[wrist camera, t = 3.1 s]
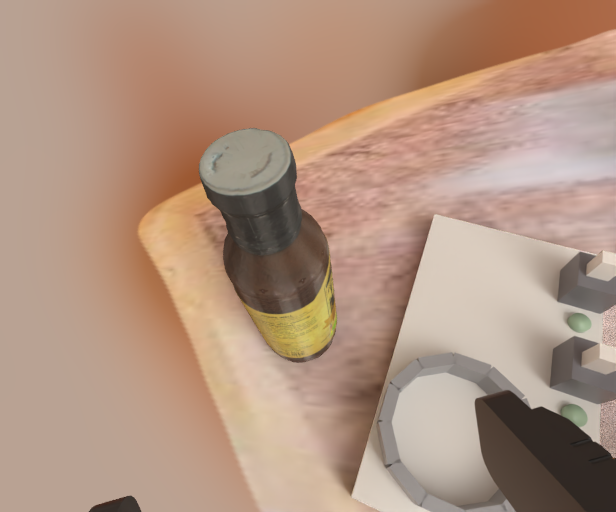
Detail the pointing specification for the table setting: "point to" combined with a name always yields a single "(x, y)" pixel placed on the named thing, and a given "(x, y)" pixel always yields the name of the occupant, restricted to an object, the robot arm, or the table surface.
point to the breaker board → (484, 361)
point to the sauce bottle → (272, 242)
